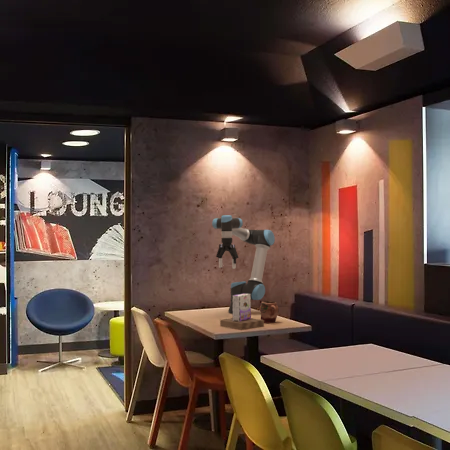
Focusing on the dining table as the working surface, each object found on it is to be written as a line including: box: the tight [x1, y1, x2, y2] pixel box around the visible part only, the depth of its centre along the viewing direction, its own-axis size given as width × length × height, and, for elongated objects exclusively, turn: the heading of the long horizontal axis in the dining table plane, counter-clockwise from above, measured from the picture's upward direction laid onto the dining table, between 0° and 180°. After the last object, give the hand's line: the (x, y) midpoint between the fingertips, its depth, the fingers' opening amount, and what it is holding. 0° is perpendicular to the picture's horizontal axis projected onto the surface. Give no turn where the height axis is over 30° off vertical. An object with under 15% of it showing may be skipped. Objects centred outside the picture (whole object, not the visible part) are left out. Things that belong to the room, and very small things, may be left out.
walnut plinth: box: [219, 317, 265, 331], centre depth 391 cm, size 20×20×4 cm
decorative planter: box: [258, 300, 280, 324], centre depth 406 cm, size 20×12×14 cm, turn 26°
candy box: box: [231, 294, 252, 322], centre depth 391 cm, size 14×6×16 cm, turn 146°
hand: (227, 268), depth 419 cm, fingers open, 13 cm apart
